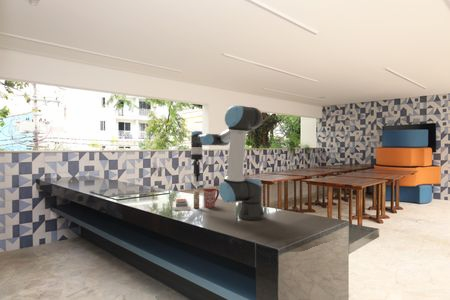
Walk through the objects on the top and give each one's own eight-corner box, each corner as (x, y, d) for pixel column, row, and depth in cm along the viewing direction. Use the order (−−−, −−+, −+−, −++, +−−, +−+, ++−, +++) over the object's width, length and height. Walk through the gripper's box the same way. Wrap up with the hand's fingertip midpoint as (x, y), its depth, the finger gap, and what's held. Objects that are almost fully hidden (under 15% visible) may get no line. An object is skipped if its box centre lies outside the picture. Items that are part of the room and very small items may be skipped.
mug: (208, 208, 202) (208, 188, 202) (200, 206, 209) (200, 187, 209) (222, 206, 210) (222, 187, 210) (214, 204, 217) (214, 186, 217)
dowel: (198, 207, 206) (199, 190, 206) (199, 208, 202) (199, 191, 202) (193, 207, 206) (193, 190, 205) (193, 208, 202) (193, 191, 202)
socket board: (188, 203, 220) (188, 198, 220) (190, 209, 198) (190, 203, 198) (173, 204, 218) (173, 198, 218) (173, 210, 196) (173, 204, 196)
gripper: (189, 153, 215) (189, 182, 216) (192, 154, 191) (192, 187, 191) (200, 153, 217) (200, 182, 217) (204, 154, 192) (203, 187, 193)
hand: (196, 185), depth 204 cm, fingers open, 13 cm apart
